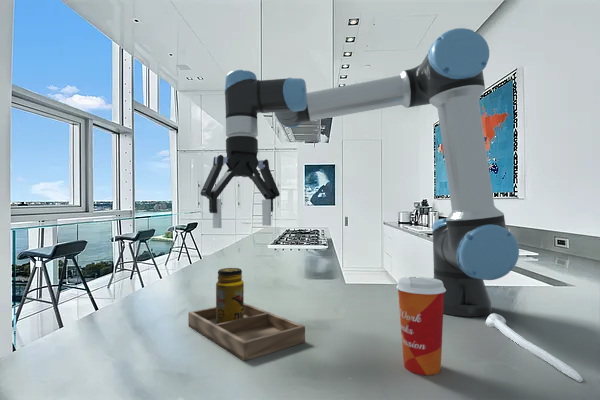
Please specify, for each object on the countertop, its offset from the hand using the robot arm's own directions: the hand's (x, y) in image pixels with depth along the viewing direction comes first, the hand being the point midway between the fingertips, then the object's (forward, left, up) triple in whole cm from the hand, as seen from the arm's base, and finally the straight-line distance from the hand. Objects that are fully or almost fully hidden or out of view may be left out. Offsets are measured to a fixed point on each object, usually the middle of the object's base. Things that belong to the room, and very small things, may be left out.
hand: (243, 226), depth 83 cm
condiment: (-2, +6, -21) cm, 22 cm away
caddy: (-8, +5, -22) cm, 24 cm away
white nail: (-49, -33, -23) cm, 63 cm away
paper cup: (-41, -9, -22) cm, 47 cm away
